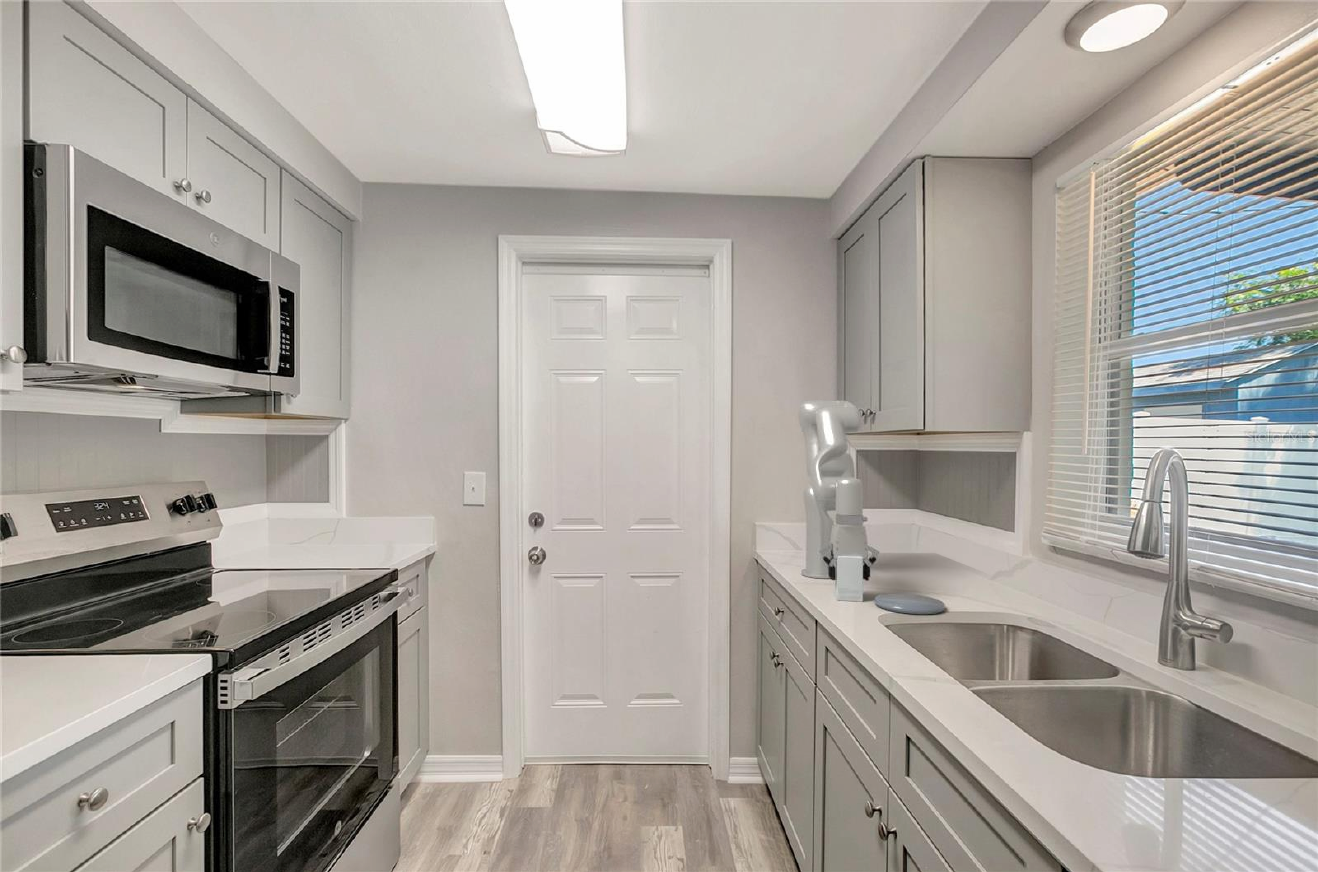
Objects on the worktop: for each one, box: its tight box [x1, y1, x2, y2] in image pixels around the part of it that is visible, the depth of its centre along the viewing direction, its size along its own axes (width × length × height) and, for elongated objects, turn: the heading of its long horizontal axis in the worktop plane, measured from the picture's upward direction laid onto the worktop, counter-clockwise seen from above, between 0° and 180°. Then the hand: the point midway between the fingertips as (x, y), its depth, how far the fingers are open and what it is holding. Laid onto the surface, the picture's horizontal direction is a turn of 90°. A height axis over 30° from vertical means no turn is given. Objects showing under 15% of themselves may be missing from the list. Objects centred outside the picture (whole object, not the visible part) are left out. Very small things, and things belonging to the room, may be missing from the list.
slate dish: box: [874, 592, 946, 615], centre depth 173 cm, size 18×18×2 cm
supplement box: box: [834, 556, 864, 603], centre depth 182 cm, size 7×7×13 cm
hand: (849, 579), depth 182 cm, fingers open, 9 cm apart
